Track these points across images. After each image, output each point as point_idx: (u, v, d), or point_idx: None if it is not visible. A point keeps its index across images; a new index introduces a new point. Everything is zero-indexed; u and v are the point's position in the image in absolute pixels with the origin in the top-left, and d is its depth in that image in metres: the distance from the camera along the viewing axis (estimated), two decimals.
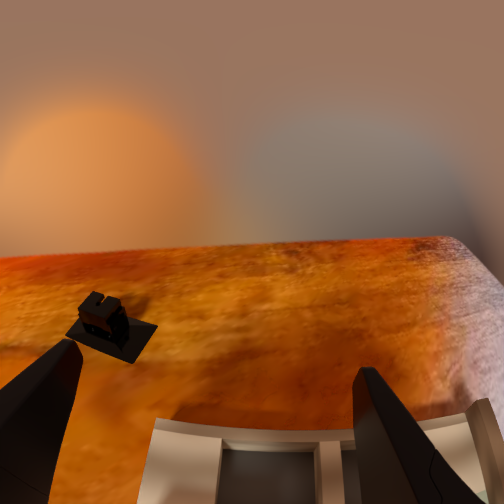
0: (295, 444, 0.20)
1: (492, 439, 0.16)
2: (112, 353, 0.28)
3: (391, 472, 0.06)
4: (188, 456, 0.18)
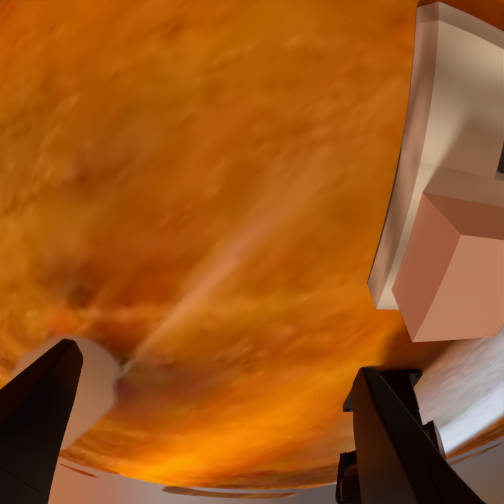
0: None
1: None
2: None
3: (391, 472, 0.06)
4: (484, 74, 0.10)
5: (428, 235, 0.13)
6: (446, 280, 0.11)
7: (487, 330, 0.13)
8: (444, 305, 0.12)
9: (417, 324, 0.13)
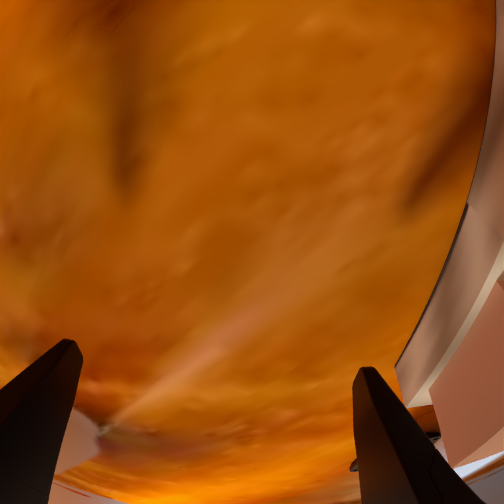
0: None
1: None
2: None
3: (391, 472, 0.06)
4: None
5: (499, 349, 0.07)
6: None
7: None
8: (500, 437, 0.07)
9: (461, 453, 0.08)
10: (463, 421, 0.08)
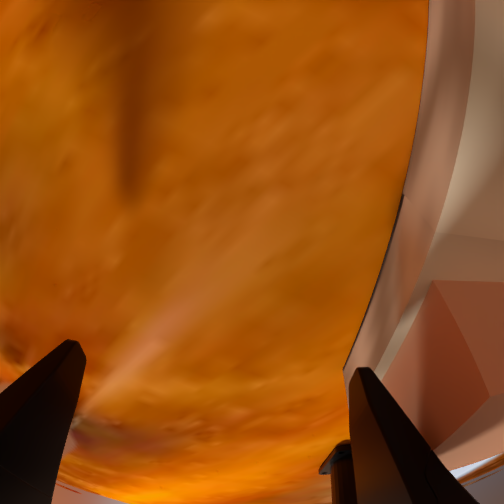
0: None
1: None
2: None
3: (386, 473, 0.06)
4: None
5: (434, 358, 0.07)
6: (449, 441, 0.06)
7: (495, 452, 0.08)
8: (439, 457, 0.07)
9: None
10: None
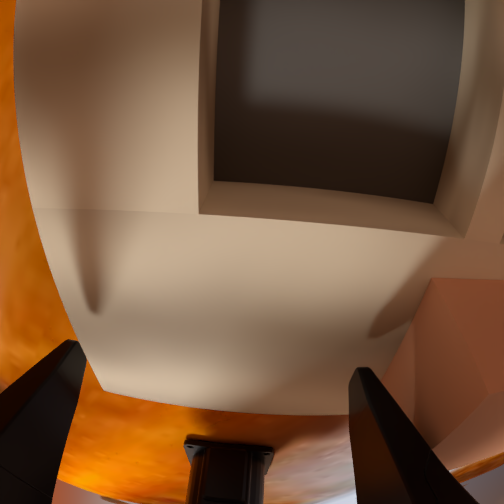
0: None
1: None
2: None
3: (386, 473, 0.06)
4: None
5: (433, 356, 0.07)
6: (448, 439, 0.06)
7: (496, 451, 0.07)
8: (439, 456, 0.07)
9: None
10: None
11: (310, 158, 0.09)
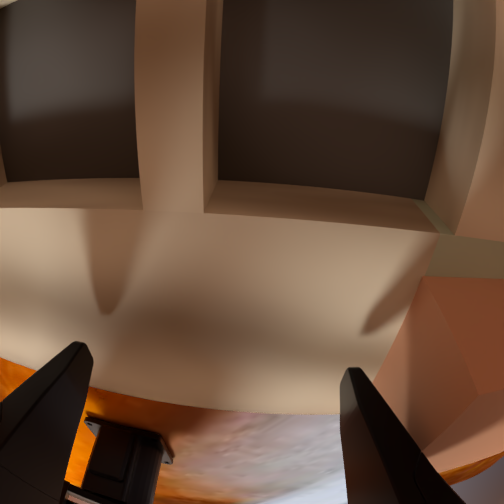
0: None
1: None
2: None
3: (375, 474, 0.06)
4: None
5: (424, 355, 0.07)
6: (439, 441, 0.06)
7: (492, 452, 0.07)
8: (431, 457, 0.07)
9: None
10: None
11: (51, 155, 0.09)
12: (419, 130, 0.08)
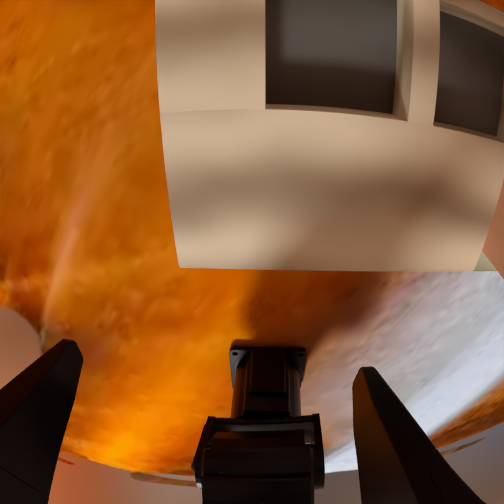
0: None
1: None
2: None
3: (391, 472, 0.06)
4: (216, 5, 0.11)
5: None
6: None
7: None
8: None
9: None
10: None
11: (317, 89, 0.15)
12: (493, 102, 0.14)
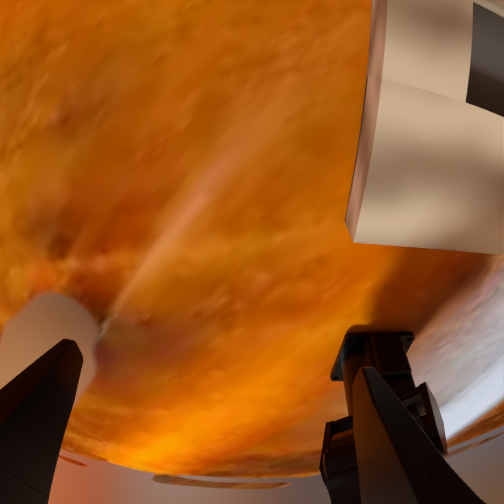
0: None
1: None
2: None
3: (391, 472, 0.06)
4: (440, 1, 0.09)
5: None
6: None
7: None
8: None
9: None
10: None
11: (481, 94, 0.14)
12: None
